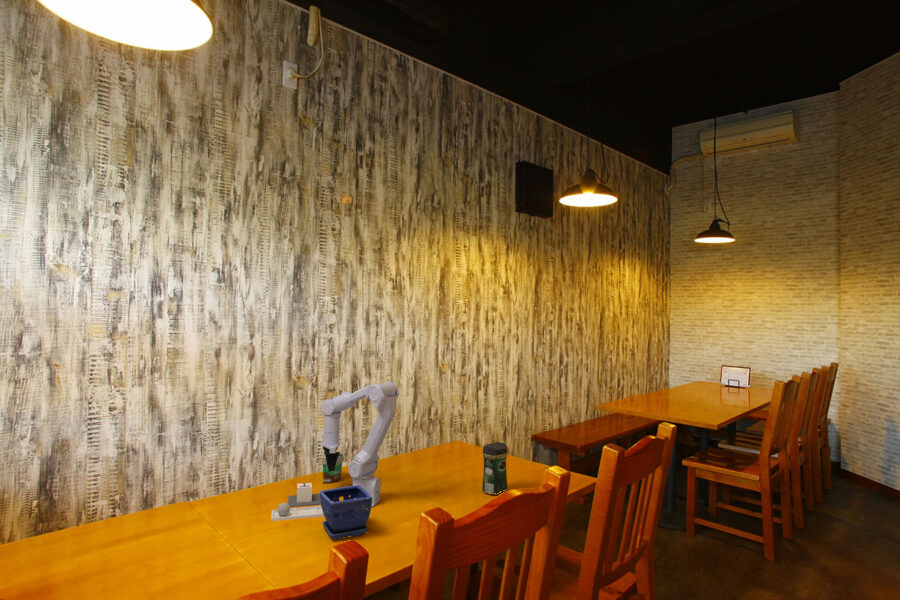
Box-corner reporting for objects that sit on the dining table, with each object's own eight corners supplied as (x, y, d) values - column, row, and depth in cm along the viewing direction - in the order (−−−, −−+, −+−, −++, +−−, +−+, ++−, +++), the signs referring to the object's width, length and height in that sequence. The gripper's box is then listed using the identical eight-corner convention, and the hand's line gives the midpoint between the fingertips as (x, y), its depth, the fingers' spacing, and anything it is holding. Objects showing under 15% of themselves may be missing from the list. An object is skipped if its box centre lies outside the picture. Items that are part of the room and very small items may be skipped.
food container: (336, 485, 203) (336, 460, 203) (321, 484, 204) (322, 458, 204) (348, 476, 215) (349, 452, 215) (334, 475, 216) (335, 451, 216)
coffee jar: (494, 486, 205) (495, 439, 206) (510, 491, 200) (511, 442, 200) (478, 492, 198) (479, 443, 199) (494, 497, 193) (495, 447, 193)
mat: (319, 495, 192) (319, 493, 192) (321, 505, 181) (321, 503, 181) (288, 497, 189) (288, 495, 189) (288, 508, 178) (288, 506, 178)
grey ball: (292, 513, 172) (292, 501, 172) (285, 518, 168) (286, 505, 169) (281, 512, 173) (281, 500, 173) (274, 517, 169) (275, 504, 169)
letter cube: (311, 496, 188) (311, 482, 188) (311, 501, 183) (312, 486, 184) (296, 497, 187) (297, 483, 187) (296, 502, 182) (297, 487, 182)
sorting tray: (337, 507, 180) (337, 504, 180) (339, 515, 172) (339, 512, 172) (271, 513, 173) (271, 510, 173) (271, 521, 166) (271, 518, 166)
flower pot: (328, 545, 150) (329, 503, 150) (317, 528, 162) (318, 489, 162) (372, 537, 156) (373, 496, 157) (359, 521, 168) (359, 484, 168)
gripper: (319, 427, 200) (318, 463, 200) (321, 436, 186) (320, 474, 186) (338, 427, 202) (337, 462, 202) (341, 435, 188) (340, 473, 188)
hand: (330, 468), depth 194 cm, fingers open, 7 cm apart
